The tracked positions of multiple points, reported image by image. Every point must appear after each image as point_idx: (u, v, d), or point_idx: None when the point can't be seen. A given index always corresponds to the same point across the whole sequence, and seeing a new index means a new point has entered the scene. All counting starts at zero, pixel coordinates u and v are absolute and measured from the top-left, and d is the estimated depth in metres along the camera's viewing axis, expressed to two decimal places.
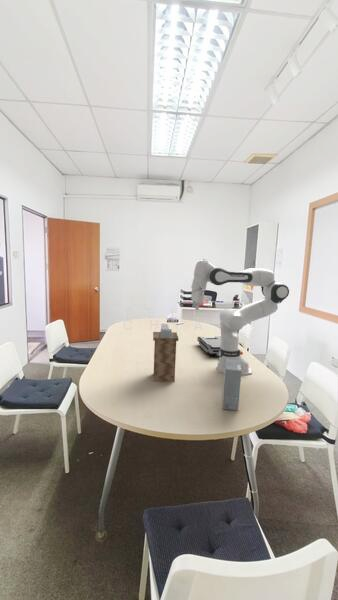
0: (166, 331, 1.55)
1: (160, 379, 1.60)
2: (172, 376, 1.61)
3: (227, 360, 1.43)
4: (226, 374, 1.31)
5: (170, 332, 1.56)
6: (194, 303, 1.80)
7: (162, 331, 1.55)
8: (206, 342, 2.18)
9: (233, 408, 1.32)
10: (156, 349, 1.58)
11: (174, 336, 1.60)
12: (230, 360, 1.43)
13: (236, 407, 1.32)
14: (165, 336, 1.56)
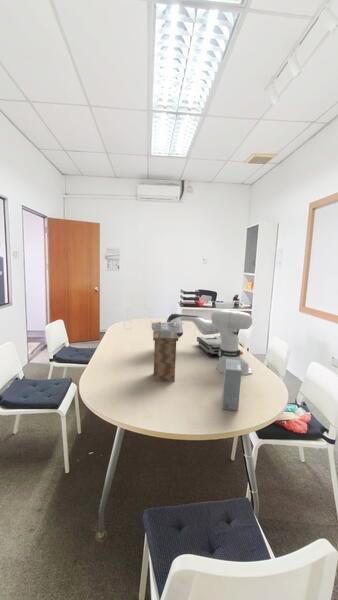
0: (166, 331, 1.55)
1: (160, 379, 1.60)
2: (172, 376, 1.61)
3: (227, 360, 1.43)
4: (226, 374, 1.31)
5: (170, 332, 1.56)
6: None
7: (162, 331, 1.55)
8: (206, 342, 2.18)
9: (233, 408, 1.32)
10: (156, 349, 1.58)
11: (174, 336, 1.60)
12: (230, 360, 1.43)
13: (236, 407, 1.32)
14: (165, 336, 1.56)
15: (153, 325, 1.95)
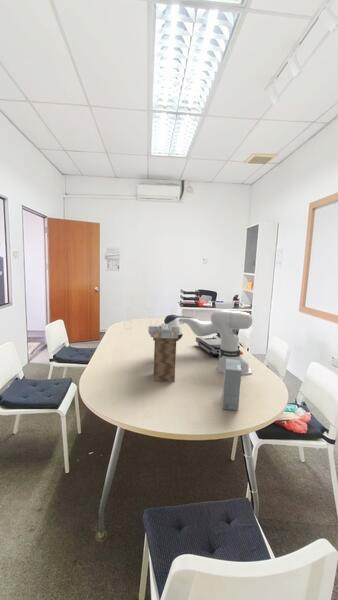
0: (166, 331, 1.55)
1: (160, 379, 1.60)
2: (172, 376, 1.61)
3: (227, 360, 1.43)
4: (226, 374, 1.31)
5: (170, 332, 1.56)
6: None
7: (162, 331, 1.55)
8: (207, 342, 2.17)
9: (233, 408, 1.32)
10: (156, 349, 1.58)
11: (174, 336, 1.60)
12: (230, 360, 1.43)
13: (236, 407, 1.32)
14: (165, 336, 1.56)
15: (150, 329, 1.77)
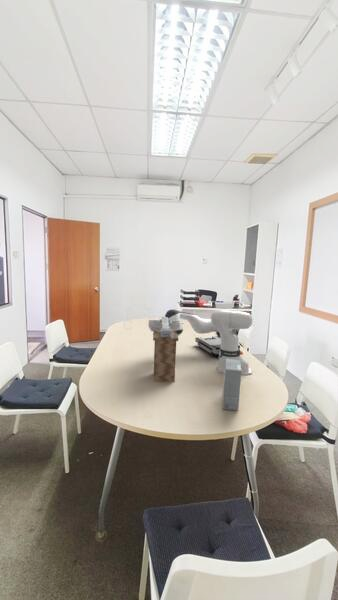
0: (166, 331, 1.55)
1: (160, 379, 1.60)
2: (172, 376, 1.61)
3: (227, 360, 1.43)
4: (226, 374, 1.31)
5: (170, 332, 1.56)
6: None
7: (162, 331, 1.55)
8: (207, 343, 2.16)
9: (233, 408, 1.32)
10: (156, 349, 1.58)
11: (174, 336, 1.60)
12: (230, 360, 1.43)
13: (236, 407, 1.32)
14: (165, 336, 1.56)
15: (150, 323, 1.77)
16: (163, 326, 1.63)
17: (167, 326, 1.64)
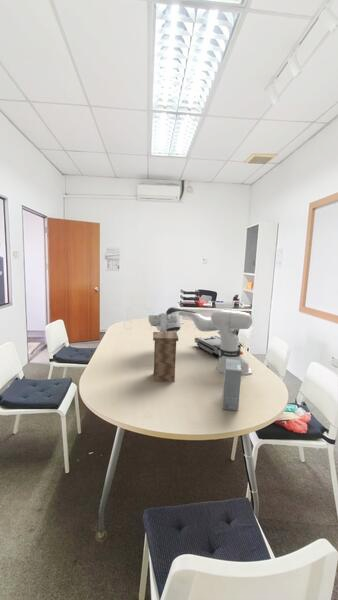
0: None
1: (160, 379, 1.60)
2: (172, 376, 1.61)
3: (227, 360, 1.43)
4: (226, 374, 1.31)
5: None
6: None
7: None
8: (208, 343, 2.16)
9: (233, 408, 1.32)
10: (156, 349, 1.58)
11: (174, 336, 1.60)
12: (230, 360, 1.43)
13: (236, 407, 1.32)
14: None
15: (150, 318, 1.92)
16: None
17: None
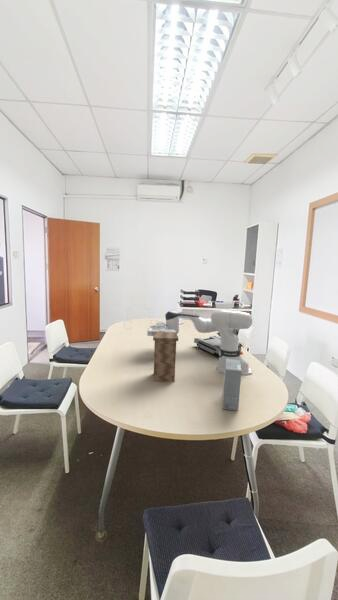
0: None
1: (160, 379, 1.60)
2: (172, 376, 1.61)
3: (227, 360, 1.43)
4: (226, 374, 1.31)
5: None
6: None
7: None
8: (208, 343, 2.15)
9: (233, 408, 1.32)
10: (156, 349, 1.58)
11: (174, 336, 1.60)
12: (230, 360, 1.43)
13: (236, 407, 1.32)
14: None
15: (149, 334, 1.95)
16: None
17: None
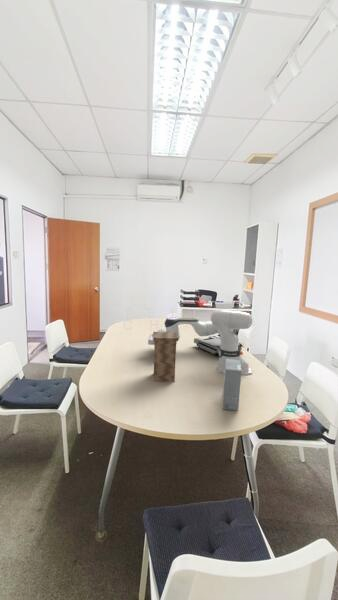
0: None
1: (160, 379, 1.60)
2: (172, 376, 1.61)
3: (227, 360, 1.43)
4: (226, 374, 1.31)
5: None
6: None
7: None
8: (209, 343, 2.15)
9: (233, 408, 1.32)
10: (156, 349, 1.58)
11: (174, 336, 1.60)
12: (230, 360, 1.43)
13: (236, 407, 1.32)
14: None
15: (149, 343, 1.96)
16: None
17: None
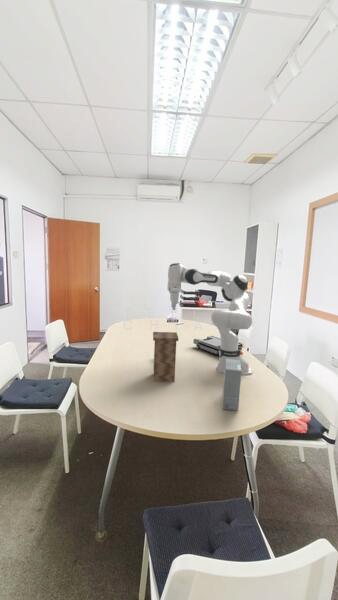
0: None
1: (160, 379, 1.60)
2: (172, 376, 1.61)
3: (227, 360, 1.43)
4: (226, 374, 1.31)
5: None
6: None
7: None
8: (210, 344, 2.14)
9: (233, 408, 1.32)
10: (156, 349, 1.58)
11: (174, 336, 1.60)
12: (230, 360, 1.43)
13: (236, 407, 1.32)
14: None
15: (173, 303, 1.77)
16: None
17: None
